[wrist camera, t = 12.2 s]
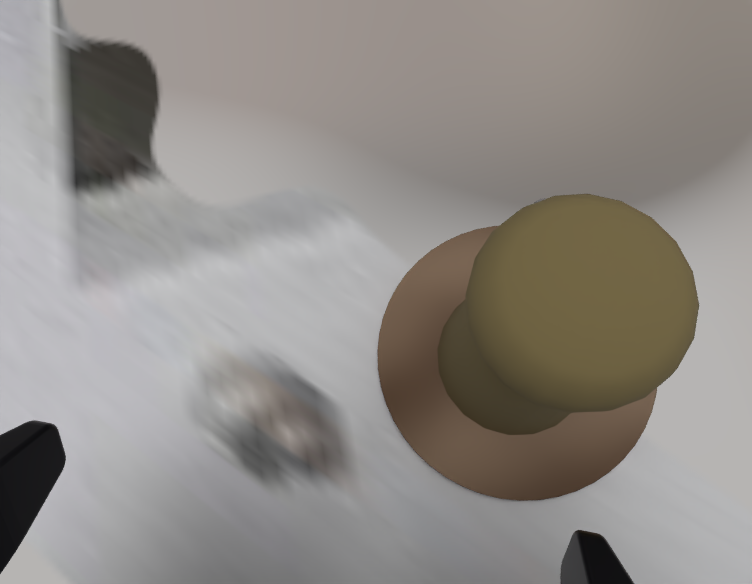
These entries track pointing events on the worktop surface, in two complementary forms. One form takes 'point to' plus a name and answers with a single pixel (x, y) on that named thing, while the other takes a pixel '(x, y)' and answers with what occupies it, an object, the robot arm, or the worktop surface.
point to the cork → (567, 315)
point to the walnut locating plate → (458, 432)
